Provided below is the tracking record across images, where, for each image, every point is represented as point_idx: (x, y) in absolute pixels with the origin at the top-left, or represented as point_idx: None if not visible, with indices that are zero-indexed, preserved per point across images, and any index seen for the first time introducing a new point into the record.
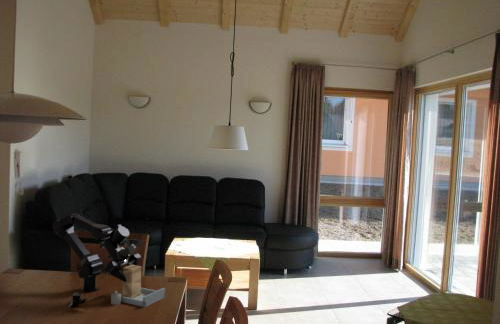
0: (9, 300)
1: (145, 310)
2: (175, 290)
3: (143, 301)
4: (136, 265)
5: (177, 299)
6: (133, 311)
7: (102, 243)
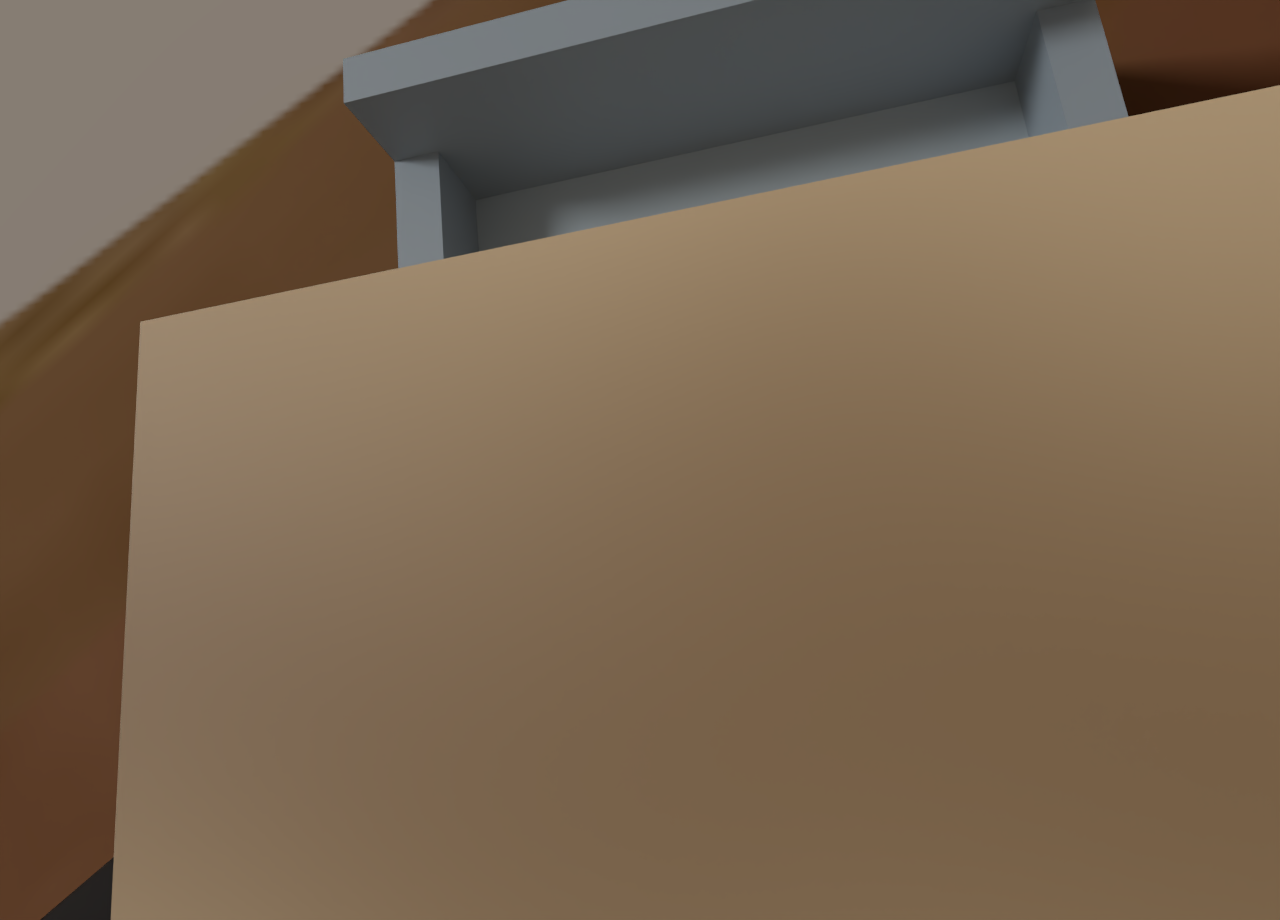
0: None
1: None
2: (23, 399)
3: None
4: (135, 845)
5: (335, 80)
6: None
7: None
